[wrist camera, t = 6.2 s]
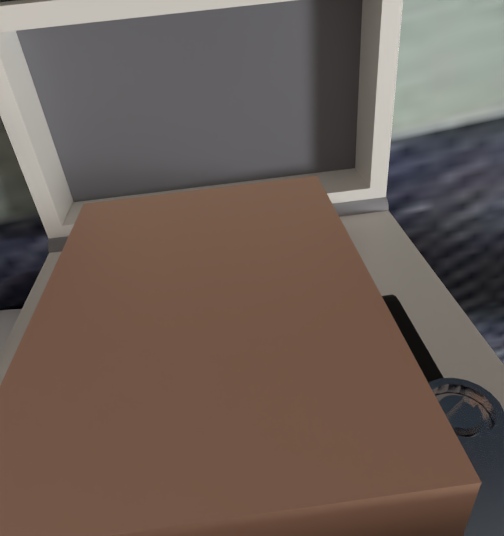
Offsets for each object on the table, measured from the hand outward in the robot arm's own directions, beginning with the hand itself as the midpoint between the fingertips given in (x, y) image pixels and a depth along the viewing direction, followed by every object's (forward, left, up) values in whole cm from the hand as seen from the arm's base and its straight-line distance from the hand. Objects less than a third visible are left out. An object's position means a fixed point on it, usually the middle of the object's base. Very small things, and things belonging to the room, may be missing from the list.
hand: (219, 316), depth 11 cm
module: (0, 0, -1) cm, 1 cm away
